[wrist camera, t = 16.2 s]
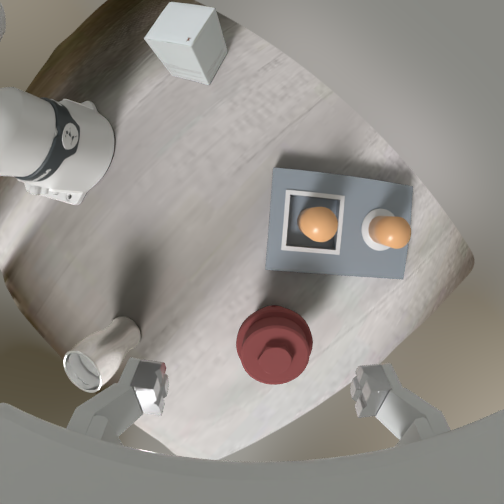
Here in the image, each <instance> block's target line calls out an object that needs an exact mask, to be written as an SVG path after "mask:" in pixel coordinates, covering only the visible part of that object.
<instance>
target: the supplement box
mask: <svg viewBox="0 0 504 504" xmlns="http://www.w3.org/2000/svg"><path fill="white" fill-rule="evenodd" d="M144 39H145V41H146V42H147V43H148V45H149V46H150V47H151V49H152V50H153V51H154V52H155V54H156V55H157V56H158V58H159V59H160V60H161V62H162V63H163V64H164V66H165V67H166V68H167V70H168V71H169V72H170V74H171V75H172V76H176V77H180V78H184V79H188V80H192V81H195V82H199V83H203V84H206V85H210V83H211V81H212V79H213V77H214V76H215V74H216V72H217V70H218V68H219V67H220V65H221V63H222V61H223V59H224V58H225V56H226V54H227V52H228V51H227V47H226V44H225V40H224V36H223V33H222V29H221V26H220V22H219V19H218V15H217V12H216V9H215V8H213V7H207V6H200V5H193V4H186V3H177V2H169V4H168V5H167V6H166V8H165V9H164V10H163V12H162V13H161V15H160V16H159V17H158V19H157V20H156V22H155V23H154V25H153V26H152V27H151V29H150V30H149V32H148V33H147V35H146V36H145V38H144Z"/></svg>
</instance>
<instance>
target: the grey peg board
mask: <svg viewBox="0 0 504 504" xmlns="http://www.w3.org/2000/svg"><path fill="white" fill-rule="evenodd" d="M412 193H413V186H408V185H402V184H397V183H391V182H385V181H379V180H373V179H367V178H360V177H353V176H346V175H338V174H331V173H322V172H314V171H304V170H294V169H284V168H273V177H272V191H271V204H270V217H269V229H268V241H267V254H266V265H265V270H277V271H290V272H303V273H317V274H330V275H344V276H359V277H374V278H390V279H403V278H404V271H405V264H406V257H407V250H408V242H409V240H410V237H411V228H410V221H411V209H412ZM312 207H326V208H328V209H330V210H331V211H332V212H333V213H334V214H335V216H336V218H337V221H338V228H337V231H336V233H335V235H334V236H333V237H332V238H331V239H330V240H328V241H325V242H316V241H313V240H312V239H310V238H309V237H307V236H306V235H305V234H303V233H302V232H301V231H300V230H299V228H298V225H297V218H298V215H299V214H300V212H301V211H303V210H304V209H306V208H312Z"/></svg>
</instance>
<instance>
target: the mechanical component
mask: <svg viewBox="0 0 504 504" xmlns="http://www.w3.org/2000/svg"><path fill="white" fill-rule="evenodd" d="M312 345H313V341H312V335H311V331H310V329H309V326H308V324H307V323H306V321H305V320H304V319H303V318H302V317H301V316H300V315H299V314H297V313H296V312H294V311H292V310H290V309H287V308H284V307H281V306H276V305H272V306H267V307H264V308H262V309H260V310H258V311H256V312H254V313H253V314H251V315H250V316H249V317H248V318H246V320H245V321H244V322H243V323H242V325H241V327H240V329H239V332H238V335H237V341H236V348H237V352H238V355H239V357H240V359H241V362H242V365H243V367H244V369H245V371H246V372H247V373H248V374H249V375H250V376H251V377H252V378H254V379H255V380H257V381H259V382H262V383H265V384H283V383H287V382H289V381H292V380H293V379H295V378H297V377H298V376H299V375H300V374H301V373H302V372H303V371H304V369H305V368H306V366H307V364H308V361H309V356H310V354H311V350H312Z"/></svg>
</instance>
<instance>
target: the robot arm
mask: <svg viewBox="0 0 504 504" xmlns="http://www.w3.org/2000/svg"><path fill="white" fill-rule="evenodd" d="M5 28H6V19H5V13H4V9H3V7H2V4H1V3H0V41H1V39H2V37H3V35H4V33H5ZM113 152H114V133H113V130H112V127H111V125H110V123H109V122H108V120H107V119H106V118H105V117H103V116H102V115H101V114H99V113H98V112H97V109H96V107H95V105H94V103H93V102H91V101H85V102H82V103H77V102H74V101H71V100H69V99H63V100H62V101H59V102H58V101H55V100H53V99H48V98H38V97H36V96H34V95H31V94H29V93H27V92H24V91H22V90H19V89H17V88H14V87H7V88H1V89H0V176H14V177H16V178H17V180H18V181H21V182H24V184H25V188H26V190H27V191H28V192H29V194H33V195H41V196H44V197H48V198H51V199H55V200H58V201H62V202H65V203H69V204H72V205H79V204H80V203H81V202H82V200H83V198H84V197H85V195H86V193H87V191H88V190H89V189H90V188H92V187H93V186H94V185H95V184H96V183H98V182H99V180H100V179H101V178H102V177H103V175H104V174H105V172H106V171H107V169H108V167H109V165H110V162H111V159H112V156H113ZM70 196H72V197H71V198H70ZM165 371H166V366H165V363H164V362H158V361H151V360H145V359H138V358H132V357H131V358H130V359H129V360H128V362H127V364H126V366H125V369H124V371H123V373H122V375H121V378H120V380H119V382H118V384H116V383H114V384H113V385H111V386H110V387H108V388H107V389H105V390H104V391H102V392H100V393H99V394H97V395H96V396H94V397H93V398H91V399H89V400H88V401H86V402H85V403H83V404H82V405H80V406H78V407H77V408H76V410H75V412H74V414H73V415H72V418H71V420H70V422H69V424H68V426H67V428H66V429H65V428H63V427H60V426H57V425H55V424H52V423H49V422H47V421H45V420H42V419H40V418H37V417H35V416H32V415H31V414H28V413H26V412H24V411H22V410H20V409H18V408H16V407H13V406H11V405H9V404H7V403H1V404H0V504H504V410H500V411H498V412H496V413H494V414H491V415H489V416H487V417H485V418H483V419H480V420H478V421H475V422H473V423H470V424H467V425H465V426H463V427H460V428H457V429H454V430H450V428H449V426H448V424H447V422H446V419H445V417H444V415H443V414H442V412H441V411H440V410H438V409H437V408H435V407H434V406H432V405H430V404H429V403H428V402H426V401H425V400H423V399H422V398H420V397H419V396H417V395H416V394H414V393H413V392H411V391H410V390H408V389H407V388H403V387H402V385H401V383H400V381H399V379H398V377H397V375H396V373H395V371H394V369H393V367H392V365H391V364H390V363H384V364H374V365H364V366H359V367H358V368H357V369H356V375H357V376H356V377H355V378H353V380H352V383H351V396H352V399H353V400H355V401H356V405H355V409H356V412H357V416H358V418H361V417H369V416H376V418H377V419H378V420H379V421H380V422H382V424H383V425H385V426H386V427H387V428H388V429H389V430H390V431H391V432H392V433H393V434H394V435H395V436H396V437H397V438H398V439H399V440H400V441H399V442H398V443H397V444H396V446H395V447H392V448H387V449H383V450H378V451H373V452H367V453H362V454H356V455H349V456H342V457H334V458H325V459H315V460H302V461H282V462H239V461H221V460H209V459H198V458H189V457H182V456H174V455H168V454H162V453H156V452H151V451H145V450H141V449H136V448H131V447H126V446H123V445H122V443H121V441H120V440H119V438H118V436H119V435H120V434H121V433H123V432H124V431H125V430H126V429H127V428H128V427H129V426H130V425H131V424H133V423H134V422H135V421H136V420H137V419H138V418H139V417H140V416H141V415H142V414H143V413H146V414H153V415H161V416H162V412H163V409H164V405H165V403H164V399H163V398H165V397H166V396H167V393H168V387H169V380H168V375H166V374H165Z"/></svg>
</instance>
